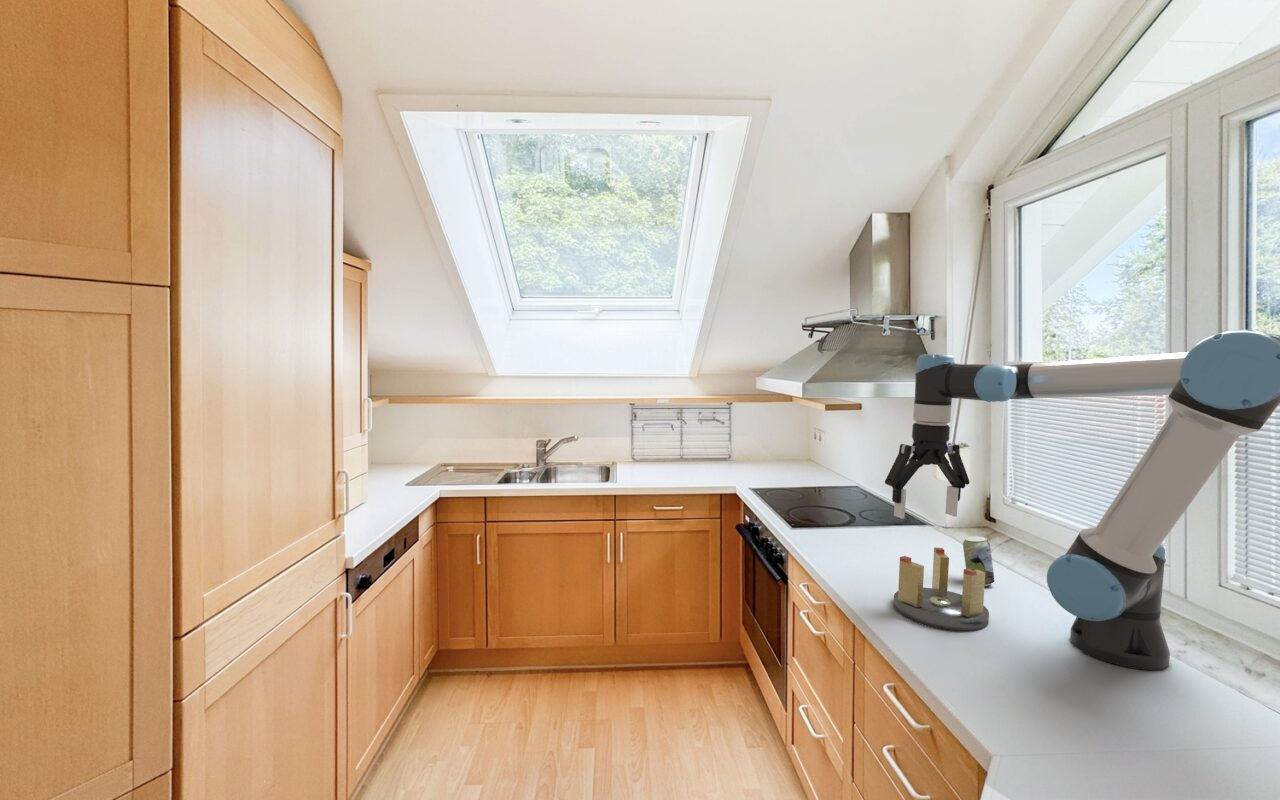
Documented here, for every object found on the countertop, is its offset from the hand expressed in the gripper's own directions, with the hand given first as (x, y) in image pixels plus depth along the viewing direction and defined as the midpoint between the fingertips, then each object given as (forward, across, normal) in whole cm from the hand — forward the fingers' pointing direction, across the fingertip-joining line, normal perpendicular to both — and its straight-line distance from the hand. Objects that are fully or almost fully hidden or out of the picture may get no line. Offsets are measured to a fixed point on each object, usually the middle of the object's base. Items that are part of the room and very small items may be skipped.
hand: (925, 516), depth 134 cm
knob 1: (+19, +5, +3) cm, 20 cm away
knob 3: (+19, -5, +10) cm, 22 cm away
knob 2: (+19, -6, -2) cm, 20 cm away
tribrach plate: (+21, -2, +4) cm, 21 cm away
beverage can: (+21, -24, -9) cm, 34 cm away
